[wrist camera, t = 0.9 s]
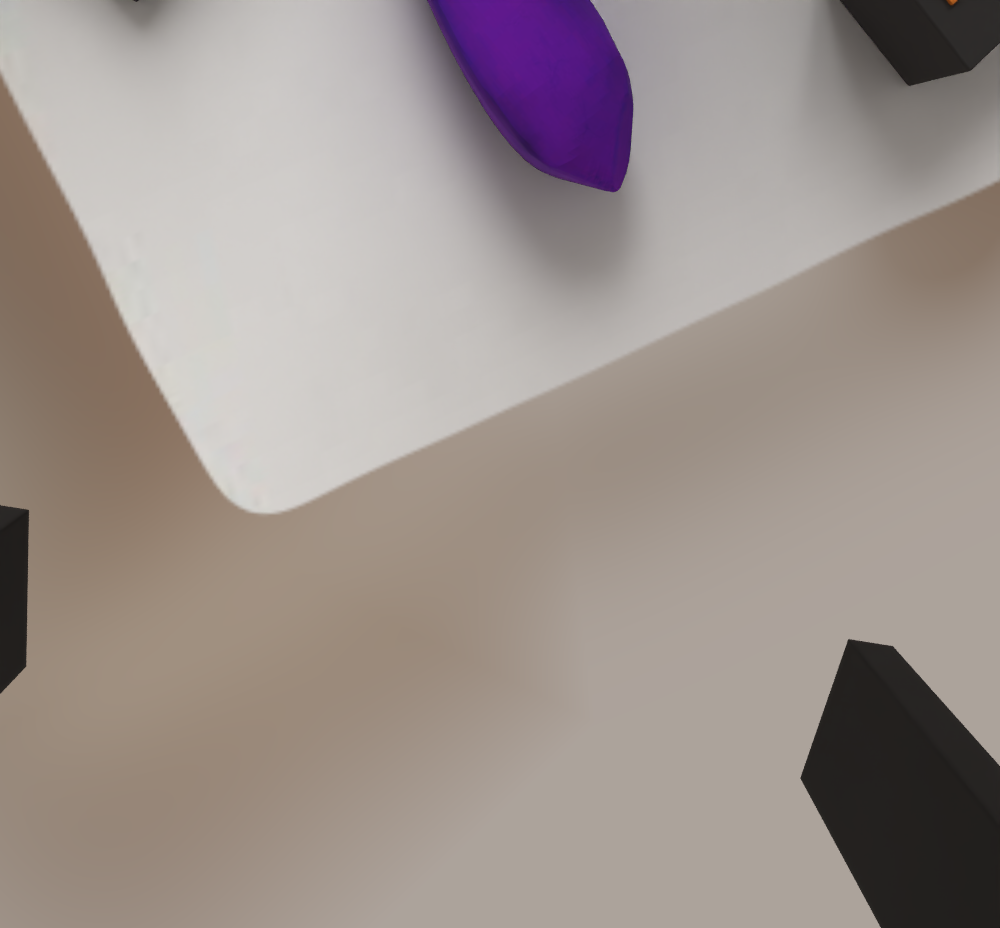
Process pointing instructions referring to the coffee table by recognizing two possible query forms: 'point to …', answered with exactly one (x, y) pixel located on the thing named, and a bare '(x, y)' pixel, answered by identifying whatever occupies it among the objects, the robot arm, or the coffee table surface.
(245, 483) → the coffee table surface
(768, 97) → the coffee table surface
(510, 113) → the purple long tapered piece
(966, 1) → the black block
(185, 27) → the coffee table surface
